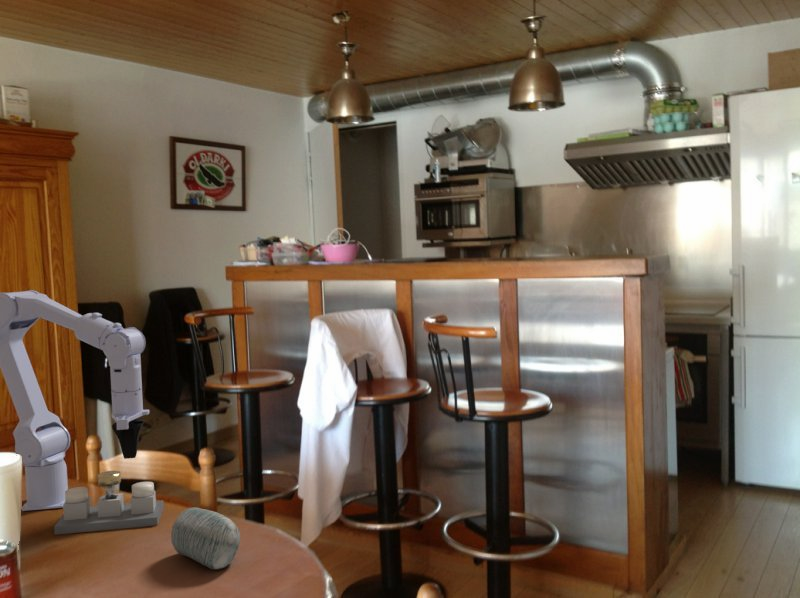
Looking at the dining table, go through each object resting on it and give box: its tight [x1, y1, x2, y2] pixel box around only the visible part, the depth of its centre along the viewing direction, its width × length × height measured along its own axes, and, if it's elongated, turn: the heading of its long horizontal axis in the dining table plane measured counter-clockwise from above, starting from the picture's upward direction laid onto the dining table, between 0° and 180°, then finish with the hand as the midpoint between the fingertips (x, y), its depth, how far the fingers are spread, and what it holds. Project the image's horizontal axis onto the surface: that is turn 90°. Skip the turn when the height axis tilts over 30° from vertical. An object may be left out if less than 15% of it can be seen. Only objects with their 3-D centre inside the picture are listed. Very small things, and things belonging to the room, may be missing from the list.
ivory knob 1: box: [65, 486, 89, 503], centre depth 143 cm, size 4×4×5 cm
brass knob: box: [97, 470, 122, 500], centre depth 144 cm, size 4×4×5 cm
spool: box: [170, 507, 241, 571], centre depth 124 cm, size 14×10×10 cm
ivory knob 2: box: [131, 481, 155, 497], centre depth 145 cm, size 4×4×5 cm
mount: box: [53, 490, 164, 536], centre depth 144 cm, size 10×18×4 cm, turn 101°
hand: (130, 457), depth 150 cm, fingers closed
